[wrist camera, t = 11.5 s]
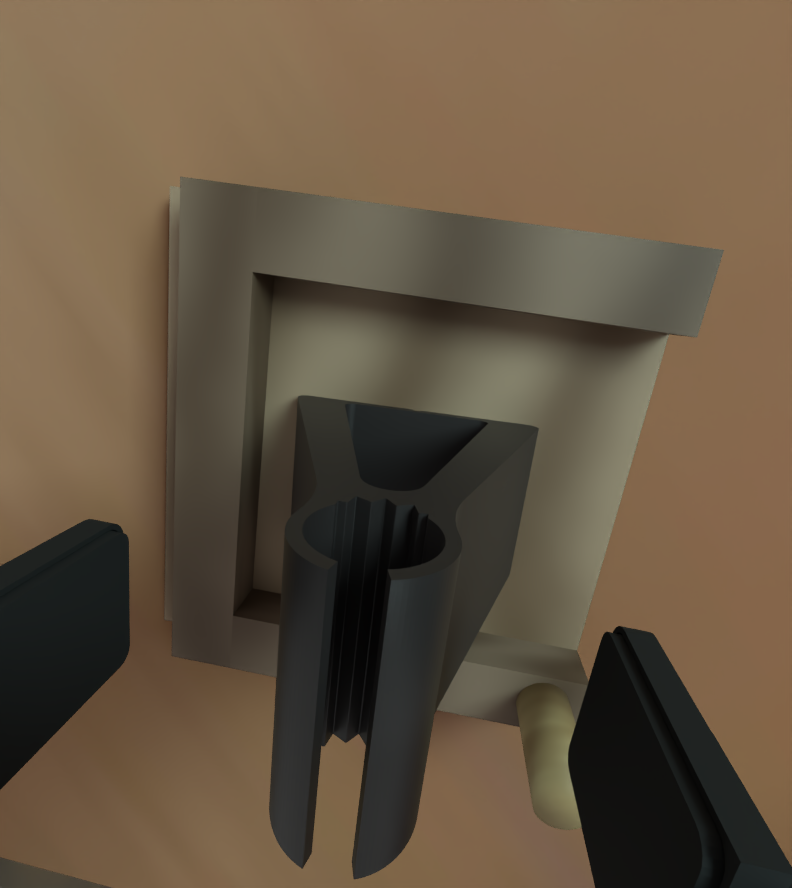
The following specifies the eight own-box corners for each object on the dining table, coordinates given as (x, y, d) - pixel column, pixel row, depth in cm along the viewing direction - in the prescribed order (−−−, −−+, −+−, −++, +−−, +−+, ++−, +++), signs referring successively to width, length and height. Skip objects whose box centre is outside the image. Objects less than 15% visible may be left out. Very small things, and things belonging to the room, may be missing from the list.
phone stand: (291, 534, 20) (85, 823, 9) (301, 392, 19) (62, 523, 7) (508, 569, 20) (587, 931, 8) (537, 426, 18) (688, 627, 7)
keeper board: (677, 260, 17) (824, 227, 10) (558, 682, 22) (604, 844, 15) (184, 192, 18) (29, 124, 12) (176, 607, 23) (64, 727, 17)
